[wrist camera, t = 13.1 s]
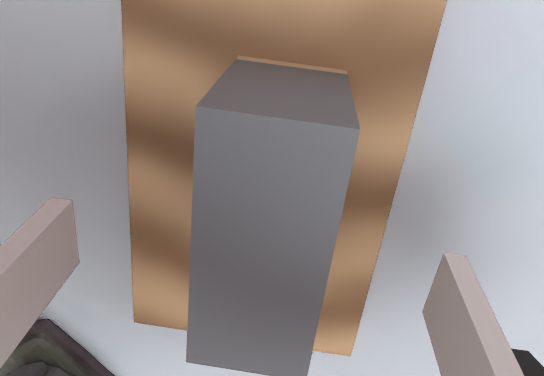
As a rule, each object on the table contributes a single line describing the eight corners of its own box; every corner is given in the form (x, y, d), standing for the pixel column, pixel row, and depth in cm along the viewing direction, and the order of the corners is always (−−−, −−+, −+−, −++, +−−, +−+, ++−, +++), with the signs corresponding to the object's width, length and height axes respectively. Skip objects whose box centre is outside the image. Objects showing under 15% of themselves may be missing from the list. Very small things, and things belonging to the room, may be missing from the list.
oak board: (125, -122, 19) (116, -126, 18) (462, -81, 18) (469, -82, 18) (139, 311, 30) (133, 322, 29) (349, 344, 30) (350, 356, 29)
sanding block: (238, 55, 21) (195, 106, 14) (346, 70, 21) (360, 129, 14) (223, 251, 26) (186, 362, 19) (310, 264, 26) (305, 381, 19)
